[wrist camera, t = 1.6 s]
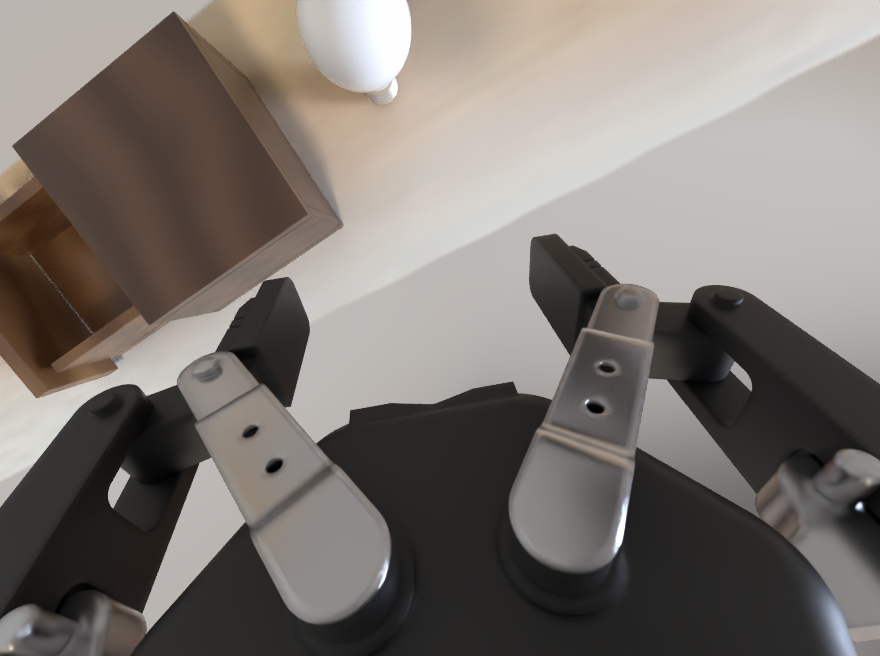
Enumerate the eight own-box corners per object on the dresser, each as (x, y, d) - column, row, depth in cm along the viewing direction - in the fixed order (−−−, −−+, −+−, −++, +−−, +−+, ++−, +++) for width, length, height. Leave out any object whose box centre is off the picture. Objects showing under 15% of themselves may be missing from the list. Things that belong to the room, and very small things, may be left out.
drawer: (99, 381, 33) (25, 406, 27) (4, 264, 31) (-96, 264, 26) (215, 301, 31) (162, 310, 25) (121, 172, 30) (42, 151, 24)
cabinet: (219, 311, 32) (148, 325, 25) (119, 174, 30) (11, 145, 23) (343, 226, 31) (308, 214, 23) (246, 76, 29) (173, 10, 21)
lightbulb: (393, 150, 29) (358, 84, 18) (327, 102, 29) (251, 5, 18) (438, 78, 28) (429, -37, 17) (370, 27, 28) (317, -123, 17)
